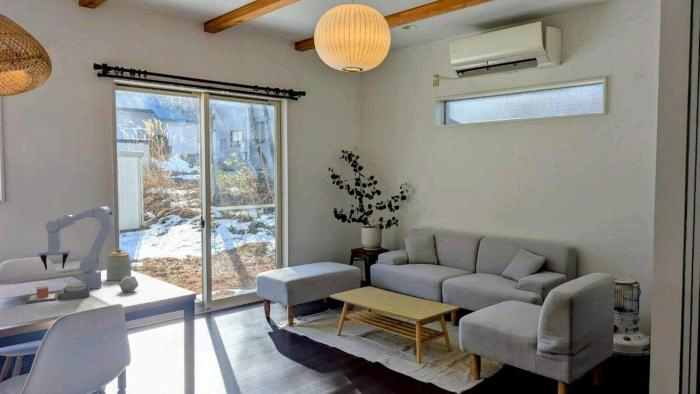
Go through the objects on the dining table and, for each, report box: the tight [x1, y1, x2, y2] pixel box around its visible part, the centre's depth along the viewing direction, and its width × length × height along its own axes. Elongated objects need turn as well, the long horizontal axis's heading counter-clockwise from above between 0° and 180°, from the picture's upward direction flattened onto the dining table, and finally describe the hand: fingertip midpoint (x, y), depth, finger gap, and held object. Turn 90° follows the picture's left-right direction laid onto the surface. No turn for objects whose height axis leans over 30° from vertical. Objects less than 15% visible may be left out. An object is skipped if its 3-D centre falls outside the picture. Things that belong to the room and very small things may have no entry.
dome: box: [64, 282, 86, 293], centre depth 240 cm, size 9×9×3 cm
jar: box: [106, 248, 132, 282], centre depth 278 cm, size 13×13×18 cm
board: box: [26, 292, 59, 304], centre depth 234 cm, size 12×12×1 cm
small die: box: [36, 285, 49, 298], centre depth 234 cm, size 4×4×5 cm
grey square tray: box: [60, 286, 90, 300], centre depth 241 cm, size 12×12×3 cm
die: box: [118, 275, 139, 293], centre depth 249 cm, size 8×9×10 cm
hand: (54, 268), depth 254 cm, fingers open, 7 cm apart
